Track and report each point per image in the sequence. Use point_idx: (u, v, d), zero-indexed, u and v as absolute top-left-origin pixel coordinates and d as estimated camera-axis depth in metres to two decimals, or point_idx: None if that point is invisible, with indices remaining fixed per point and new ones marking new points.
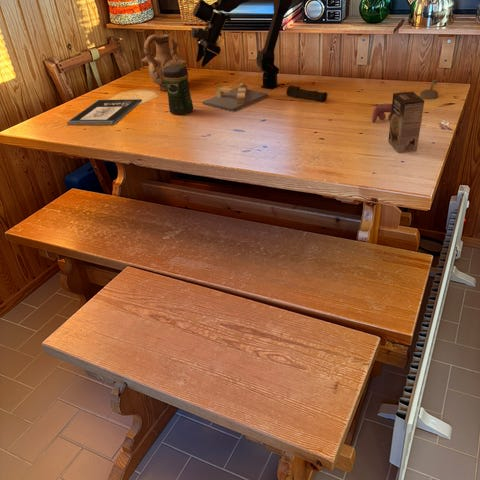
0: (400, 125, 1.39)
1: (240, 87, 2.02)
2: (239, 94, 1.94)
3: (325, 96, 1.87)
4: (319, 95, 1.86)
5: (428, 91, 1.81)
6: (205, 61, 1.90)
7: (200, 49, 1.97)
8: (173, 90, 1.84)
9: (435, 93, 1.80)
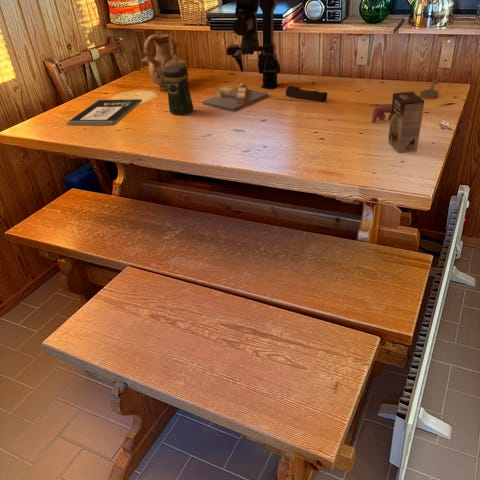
0: (400, 125, 1.39)
1: (240, 87, 2.02)
2: (239, 94, 1.94)
3: (325, 96, 1.87)
4: (319, 95, 1.86)
5: (428, 91, 1.81)
6: (264, 65, 1.83)
7: (240, 59, 1.83)
8: (173, 90, 1.84)
9: (435, 93, 1.80)
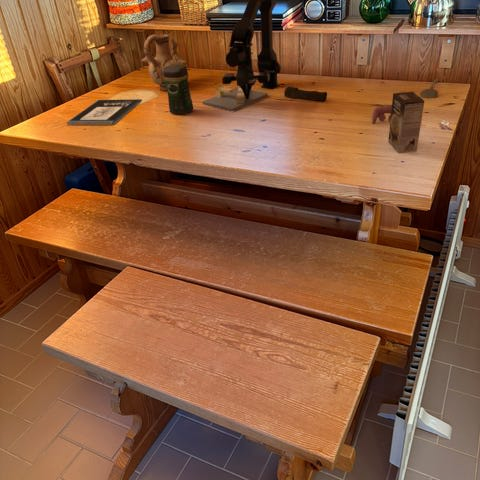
0: (400, 125, 1.39)
1: (240, 87, 2.02)
2: (239, 94, 1.94)
3: (325, 96, 1.87)
4: (319, 95, 1.86)
5: (428, 90, 1.82)
6: (249, 93, 1.91)
7: (245, 87, 1.89)
8: (173, 90, 1.84)
9: (435, 92, 1.81)
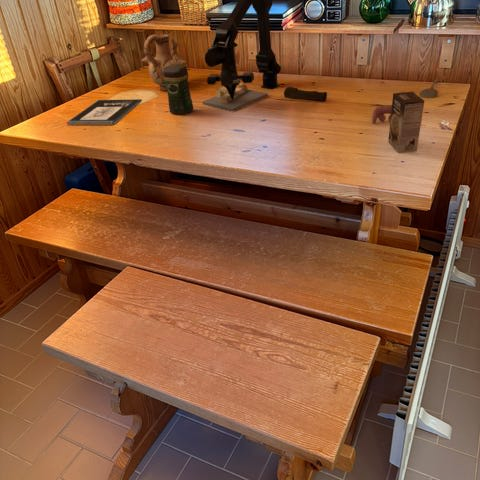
0: (400, 125, 1.39)
1: (239, 87, 2.02)
2: (228, 93, 1.96)
3: (325, 96, 1.87)
4: (320, 95, 1.86)
5: (428, 90, 1.82)
6: (233, 93, 1.92)
7: (230, 87, 1.90)
8: (173, 90, 1.84)
9: (435, 92, 1.81)
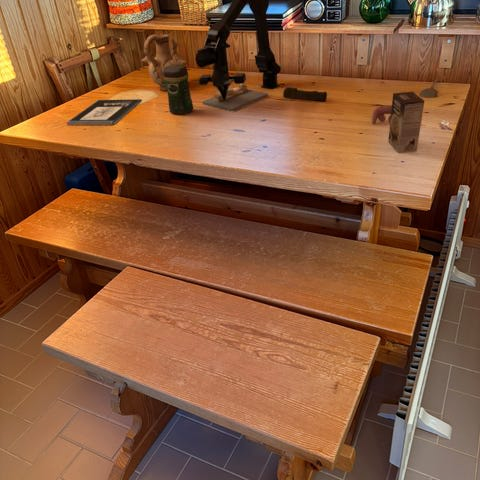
0: (400, 125, 1.39)
1: (238, 86, 2.02)
2: None
3: (325, 96, 1.87)
4: (320, 95, 1.86)
5: (428, 90, 1.83)
6: (226, 94, 1.93)
7: (222, 88, 1.91)
8: (173, 90, 1.84)
9: (435, 92, 1.82)
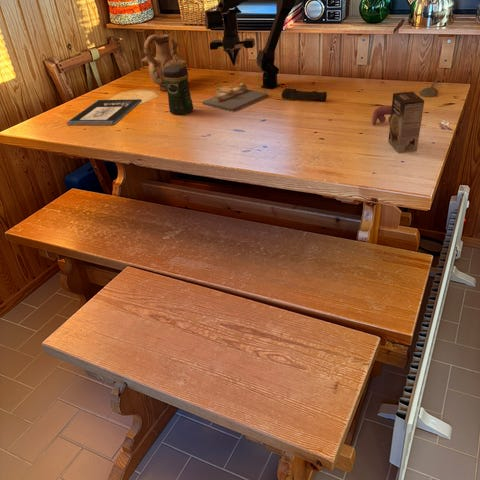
0: (400, 125, 1.39)
1: (238, 86, 2.03)
2: (223, 92, 1.97)
3: (326, 95, 1.87)
4: (320, 95, 1.86)
5: (428, 89, 1.83)
6: (235, 59, 1.99)
7: (231, 53, 1.97)
8: (173, 90, 1.84)
9: (435, 91, 1.82)
